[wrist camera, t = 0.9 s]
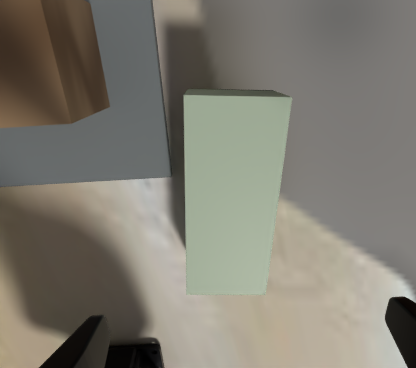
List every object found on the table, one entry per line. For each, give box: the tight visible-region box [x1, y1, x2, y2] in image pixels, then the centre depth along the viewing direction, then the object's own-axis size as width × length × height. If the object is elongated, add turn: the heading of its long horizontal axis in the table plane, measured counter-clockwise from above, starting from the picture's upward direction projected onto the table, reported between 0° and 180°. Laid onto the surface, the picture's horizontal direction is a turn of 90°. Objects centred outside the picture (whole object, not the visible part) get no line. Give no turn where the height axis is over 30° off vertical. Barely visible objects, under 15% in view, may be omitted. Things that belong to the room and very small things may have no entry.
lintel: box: [184, 89, 292, 295], centre depth 17 cm, size 5×12×4 cm, turn 179°
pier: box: [0, 0, 110, 128], centre depth 12 cm, size 5×5×5 cm
